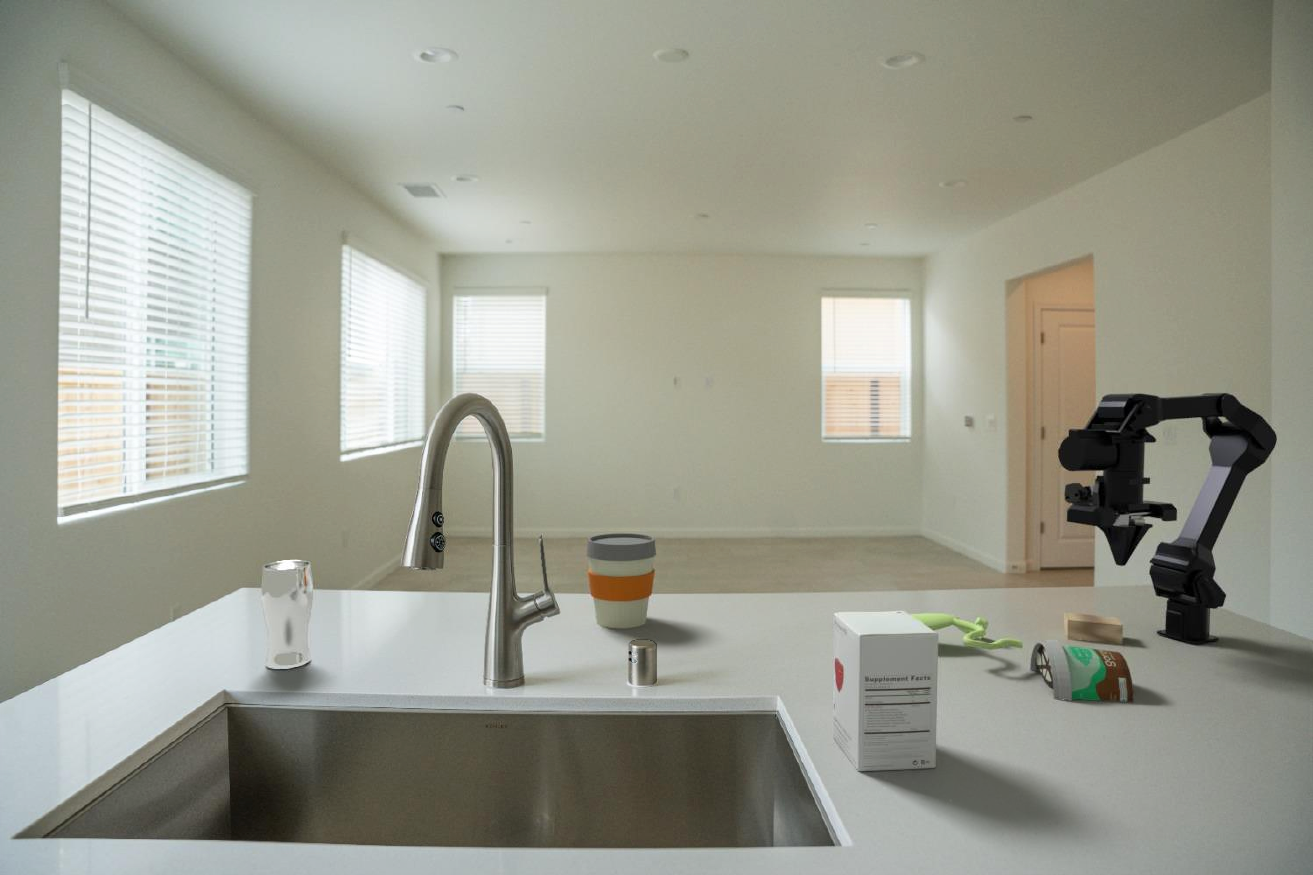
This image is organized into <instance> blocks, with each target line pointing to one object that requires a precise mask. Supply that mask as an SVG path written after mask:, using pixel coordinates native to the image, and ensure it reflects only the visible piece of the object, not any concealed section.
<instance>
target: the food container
mask: <svg viewBox="0 0 1313 875" xmlns="http://www.w3.org/2000/svg"><path fill="white" fill-rule="evenodd" d="M1029 665H1030V666H1029V667H1030V668H1029V670H1030V671H1035V670H1037V671H1036V672H1038V673H1039V674H1040V675H1041V676H1042V679H1043V681H1044V683H1045V684H1046V685H1048V686H1049V687H1050V688H1051V689H1052V691H1053V699H1055V698H1059V699H1058V700H1060V699H1064V700H1063V701H1067V700H1068V702H1072V700H1077V699H1082V701H1104V702H1105V701H1106V702H1107V701H1108V702H1110V701H1111V702H1130V703H1131V702H1134V687H1133V679H1132V675H1131V671H1130V670H1131V669H1130V667H1129V665H1128V662H1127V660H1126V659H1125V657H1124V655H1123V654H1122V653H1120V652H1119V651H1111V650H1105V649H1097V648H1090V647H1088V648H1087V647H1083V646H1082V647H1081V646H1072V645H1065V644H1061V643H1060V641H1059V640H1057V639H1054V638H1053V639H1046V640H1042V641H1040V642H1036V643H1035V645H1034V647H1033V649H1032V652H1031V657H1030V664H1029Z"/></svg>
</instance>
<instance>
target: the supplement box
mask: <svg viewBox="0 0 1313 875" xmlns="http://www.w3.org/2000/svg"><path fill="white" fill-rule="evenodd" d="M909 614H910V613H908V612H906V611H905V610H893V611H839V612H834V613H833V671H832V672H833V676H832V677H833V678H832V679H833V683H832V684H833V685H832V686H833V688H832V690H833V691H832V692H833V694H832V695H833V698H832V700H833V702H832V703H833V704H832V705H833V706H832V737H833V739H834V740H835V741H836V743H837V744H838V745H839V747H840V748H841V749H842V751H843V753H844V754H845V755H846V757H847V758H848V759H849V761H850V762H851V763H852V764H853V766H854V768H855V769H856V770H857V771H858V772H872V771H873V772H876V771H878V772H879V771H894V770H895V771H896V770H897V771H898V770H920V769H935V768H936V766H937V765H936V764H937V763H936V759H937V723H938V722H937V718H938V714H937V713H938V676H939V674H938V673H939V672H938V671H939V670H938V668H939V633H938V632H936V630H934V631H933V630H932V629H930V628H929V627H927V626H926V625H924V624H923V622H921V621H920V620H917V619H915V618H914V617H912V616H911V615H909Z"/></svg>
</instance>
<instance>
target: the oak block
mask: <svg viewBox="0 0 1313 875" xmlns="http://www.w3.org/2000/svg"><path fill="white" fill-rule="evenodd" d="M1062 629H1063V630H1064V631H1063V633H1064V632H1065V633H1064V635H1065V634H1066V635H1065V637H1066V636H1067V637H1066V639H1067V638H1068V639H1067V640H1071V639H1081V640H1087V641H1086V642H1090V641H1094V642H1093V643H1100V642H1103V643H1102V644H1110V643H1113V644H1112V645H1120V644H1121V645H1123V636H1124V635H1123V632H1124V625H1123V623H1122V622H1121V621H1120V619H1119V618H1118V617H1115V616H1114V617H1113V616H1112V617H1111V616H1103V615H1093V614H1083V613H1073V612H1072V613H1071V612H1063V628H1062ZM1121 645H1120V646H1121Z"/></svg>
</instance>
